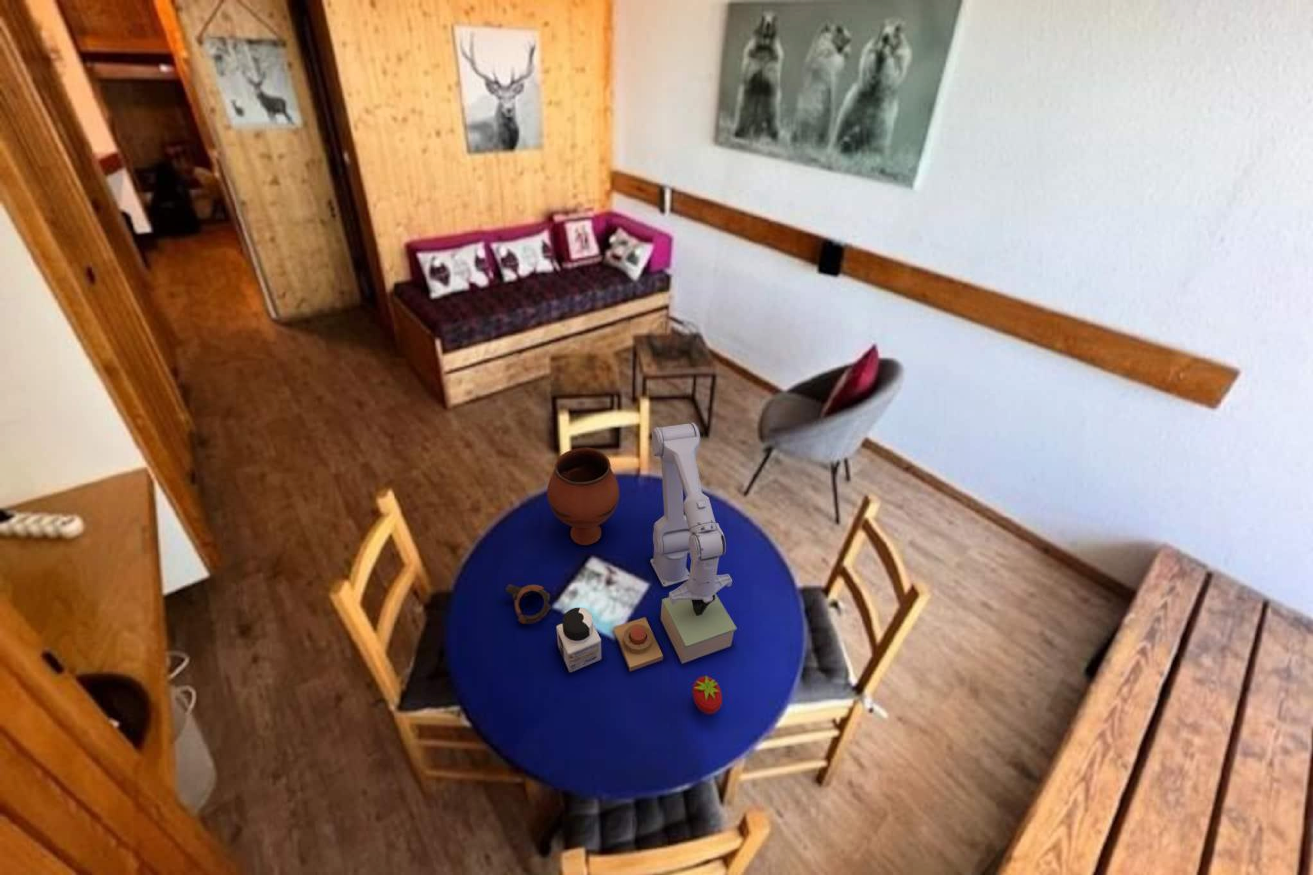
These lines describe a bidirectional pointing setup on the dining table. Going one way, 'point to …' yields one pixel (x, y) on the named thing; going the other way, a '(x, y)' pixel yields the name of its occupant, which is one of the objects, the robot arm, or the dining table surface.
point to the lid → (699, 621)
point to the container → (578, 639)
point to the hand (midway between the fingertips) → (697, 611)
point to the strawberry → (707, 695)
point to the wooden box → (697, 649)
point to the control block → (637, 645)
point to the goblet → (583, 492)
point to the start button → (637, 635)
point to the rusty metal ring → (525, 591)
